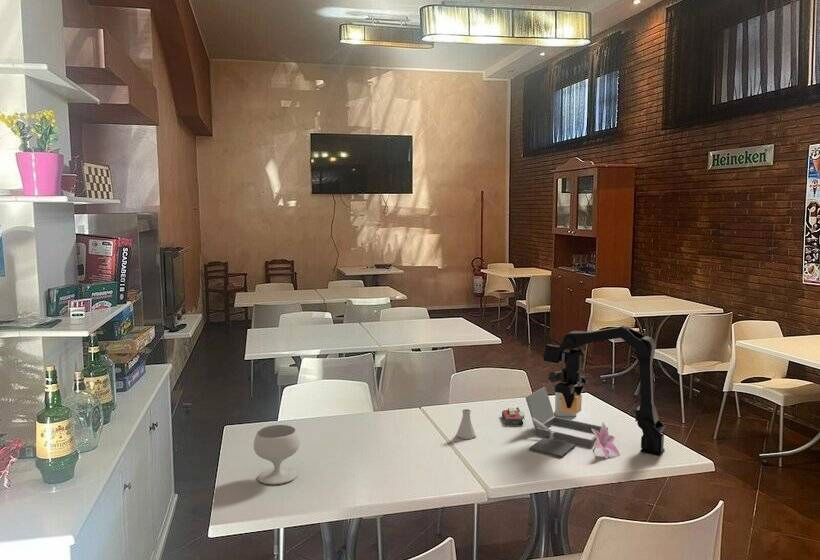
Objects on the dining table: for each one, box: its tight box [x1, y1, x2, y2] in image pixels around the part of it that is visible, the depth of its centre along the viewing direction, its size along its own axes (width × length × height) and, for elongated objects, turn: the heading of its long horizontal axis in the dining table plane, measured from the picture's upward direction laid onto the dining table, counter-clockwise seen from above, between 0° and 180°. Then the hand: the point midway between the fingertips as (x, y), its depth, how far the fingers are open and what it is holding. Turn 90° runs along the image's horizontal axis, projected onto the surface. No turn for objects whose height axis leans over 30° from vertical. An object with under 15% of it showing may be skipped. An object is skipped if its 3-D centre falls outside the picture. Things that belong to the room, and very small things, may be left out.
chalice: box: [253, 424, 300, 485], centre depth 189 cm, size 14×14×15 cm
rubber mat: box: [528, 437, 576, 459], centre depth 212 cm, size 12×12×1 cm
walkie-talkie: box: [501, 406, 525, 426], centre depth 245 cm, size 9×4×20 cm
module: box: [561, 394, 583, 415], centre depth 225 cm, size 6×4×6 cm
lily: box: [591, 421, 621, 460], centre depth 208 cm, size 12×12×10 cm
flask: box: [456, 408, 477, 440], centre depth 225 cm, size 7×7×10 cm
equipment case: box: [525, 386, 609, 448], centre depth 227 cm, size 26×18×14 cm
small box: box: [554, 391, 577, 417], centre depth 250 cm, size 8×6×10 cm
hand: (571, 406), depth 225 cm, fingers closed on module, 4 cm apart
